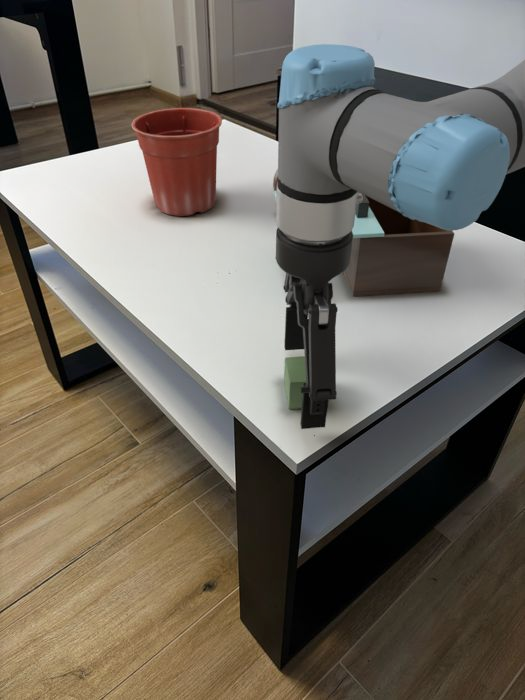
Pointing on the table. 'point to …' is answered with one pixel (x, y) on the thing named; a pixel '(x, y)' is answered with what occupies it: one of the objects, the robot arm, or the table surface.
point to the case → (398, 256)
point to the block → (294, 380)
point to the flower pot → (180, 158)
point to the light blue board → (363, 221)
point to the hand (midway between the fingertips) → (303, 384)
